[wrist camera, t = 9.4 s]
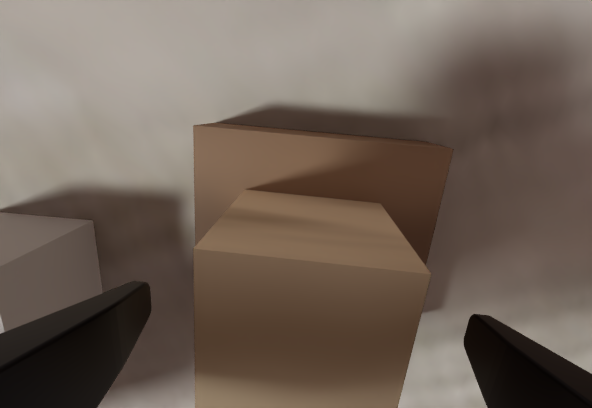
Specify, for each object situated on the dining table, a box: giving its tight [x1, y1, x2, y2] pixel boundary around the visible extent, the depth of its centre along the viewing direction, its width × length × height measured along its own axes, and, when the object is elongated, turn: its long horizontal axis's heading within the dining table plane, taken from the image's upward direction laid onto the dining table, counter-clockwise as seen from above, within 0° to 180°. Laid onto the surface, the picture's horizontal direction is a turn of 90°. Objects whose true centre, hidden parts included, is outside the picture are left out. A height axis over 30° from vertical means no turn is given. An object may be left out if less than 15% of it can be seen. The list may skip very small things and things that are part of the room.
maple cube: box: [193, 190, 431, 408], centre depth 9 cm, size 5×5×5 cm
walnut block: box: [193, 123, 453, 266], centre depth 13 cm, size 9×9×3 cm
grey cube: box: [0, 212, 103, 334], centre depth 13 cm, size 5×5×5 cm
